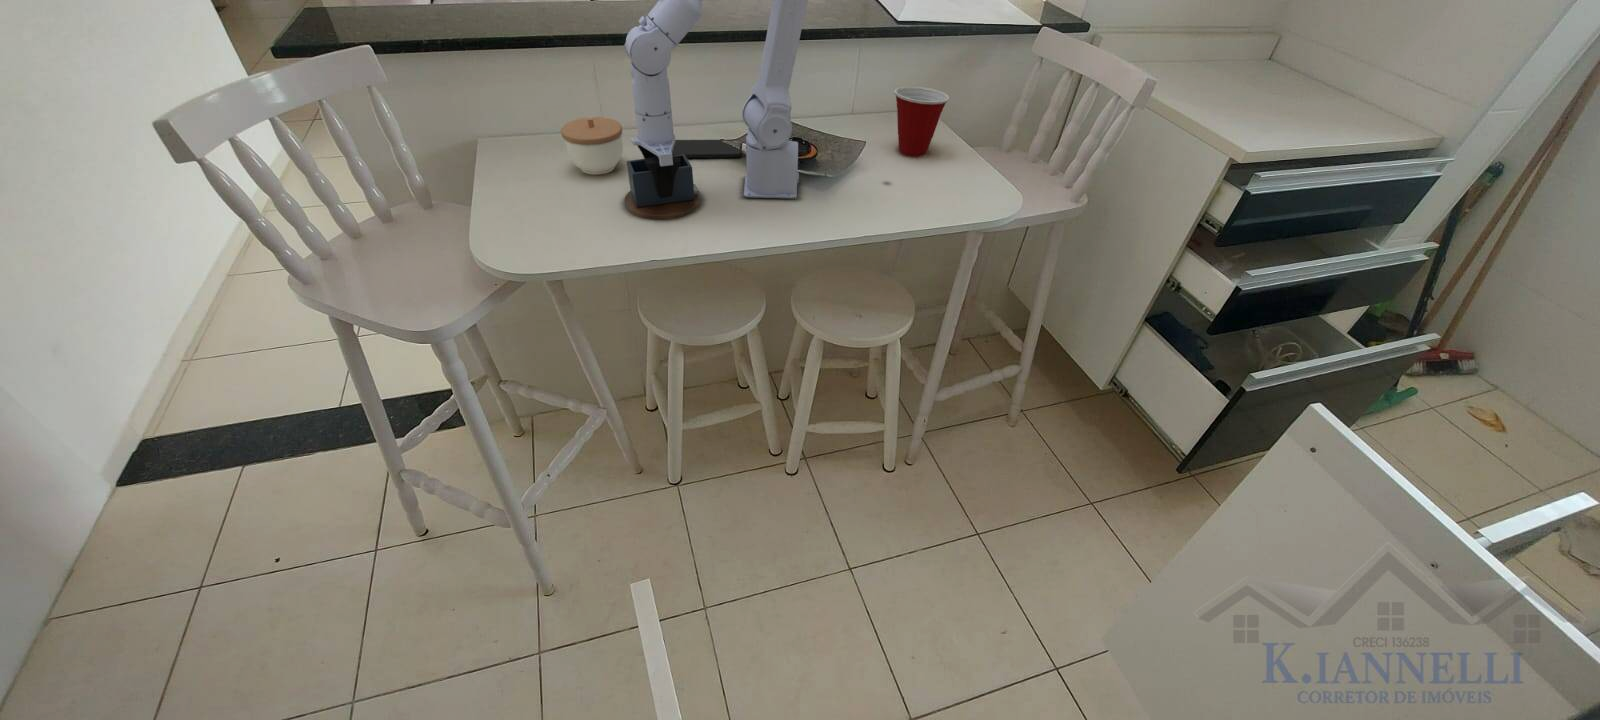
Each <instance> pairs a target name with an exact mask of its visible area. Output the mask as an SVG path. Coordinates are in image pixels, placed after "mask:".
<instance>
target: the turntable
mask: <svg viewBox="0 0 1600 720" xmlns="http://www.w3.org/2000/svg"><path fill="white" fill-rule="evenodd" d="M624 204H625V208H626V210H627V211H628V212H630V213H631V214H633V215H635V216H637V217H639V218H643V219H647V220H648V219H649V220H672V219H677V218H682V217H684V216H687V215H689V214H691V213H693V212H694V211H696V210H697V209H698V208H699V206H700V205H701V194H700V193H699V194H694V199H693V200H686V201H679V202H671V203H664V204H657V205H650V206H642V207H636V204H635V202H634V199H633V197H632V194H631V190H630V191H628V192H627V193H626V195H625V197H624Z"/></svg>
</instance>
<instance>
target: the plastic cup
mask: <svg viewBox="0 0 1600 720" xmlns="http://www.w3.org/2000/svg"><path fill="white" fill-rule="evenodd" d="M894 95H895V99H896V100H895V101H896V113H897V117H896V118H897V120H896V121H897V136H898V138H897V140H898V141H897V143H898V151H899V153H901V154H902V155H904V156H906V157H913V158H919V157H923V156H926V154H927V153H928V151H929V149H930V145H931V143H932V139H933V138H934V135H935V132H936V129H937V125H938V123H939V120H940V117H941V115H942V113H943V110H944V108H945V106H946V104H947V102H949V100H950V96H949V95H948V94H947V93H945V92H943V91H941V90H937V89H934V88H929V87H923V86H900V87H897V88H895V89H894Z"/></svg>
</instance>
